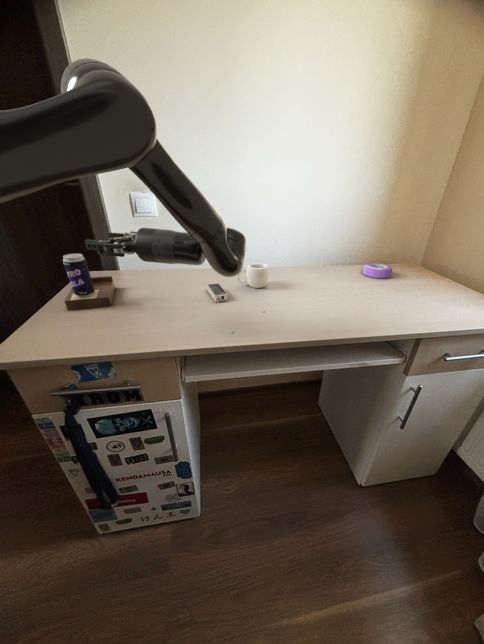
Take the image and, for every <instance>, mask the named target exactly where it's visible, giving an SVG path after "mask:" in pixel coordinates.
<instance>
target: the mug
mask: <svg viewBox="0 0 484 644" xmlns="http://www.w3.org/2000/svg"><path fill="white" fill-rule="evenodd" d="M241 272H246V273H245V274H246V280H245V281H241V279H240V274H241ZM241 272H240V273H239V274H238V275H236V280H237V282H238V283H240V284H243V285H245V284H248V286H249V287H251V288H254V289H262V288H264V287H266V285H267V284H268V281H269V276H270V269H269V266H268V264H266V263H262V262H251V263H249V264H247V266H246V269H245V268H242V270H241Z"/></svg>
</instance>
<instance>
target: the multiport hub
mask: <svg viewBox="0 0 484 644" xmlns="http://www.w3.org/2000/svg"><path fill="white" fill-rule="evenodd" d="M206 287H207V288H206V289H207V290H206V291H207V293H208V294H209V295H210V297H211V298H212V299H213V301H214V302H215V303H221V302H228V300H229V294H228V292H227V291H226V290H225V289H224V287H223V286H221V284H220V283H211V284H210V283H209V284H207V285H206Z"/></svg>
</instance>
